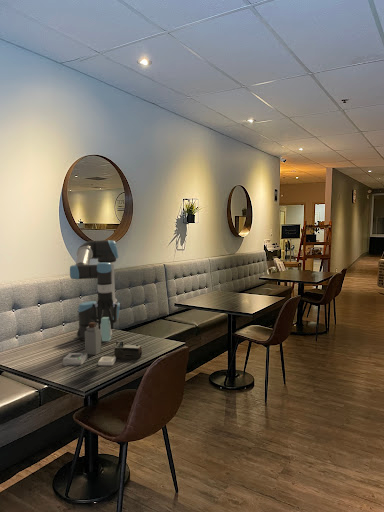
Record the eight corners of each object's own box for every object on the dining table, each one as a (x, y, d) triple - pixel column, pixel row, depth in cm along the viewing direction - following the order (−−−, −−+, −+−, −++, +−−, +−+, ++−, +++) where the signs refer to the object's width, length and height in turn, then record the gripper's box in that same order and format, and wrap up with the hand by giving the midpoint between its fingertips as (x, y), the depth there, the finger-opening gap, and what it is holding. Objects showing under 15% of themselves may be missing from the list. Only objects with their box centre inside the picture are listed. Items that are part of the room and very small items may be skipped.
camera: (143, 356, 225) (142, 339, 224) (138, 361, 217) (138, 343, 217) (118, 355, 228) (117, 337, 227) (112, 359, 221) (112, 341, 220)
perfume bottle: (96, 355, 227) (95, 324, 226) (85, 355, 228) (84, 324, 227) (101, 351, 234) (100, 321, 232) (90, 351, 235) (89, 321, 234)
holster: (102, 361, 217) (102, 356, 217) (115, 361, 217) (115, 356, 217) (98, 366, 210) (98, 361, 210) (112, 366, 210) (112, 361, 209)
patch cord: (81, 352, 233) (81, 350, 233) (82, 352, 233) (82, 350, 233) (73, 359, 221) (73, 357, 221) (75, 359, 221) (75, 357, 221)
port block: (69, 359, 222) (69, 352, 221) (87, 359, 221) (87, 352, 221) (63, 365, 212) (62, 358, 211) (81, 365, 211) (81, 358, 211)
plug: (103, 338, 215) (103, 317, 214) (111, 338, 215) (110, 317, 213) (101, 341, 211) (101, 318, 210) (109, 341, 211) (108, 318, 210)
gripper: (86, 293, 207) (88, 337, 209) (119, 293, 206) (120, 337, 208) (91, 290, 214) (92, 333, 217) (122, 290, 214) (123, 333, 216)
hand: (106, 335), depth 213 cm, fingers closed on plug, 4 cm apart
